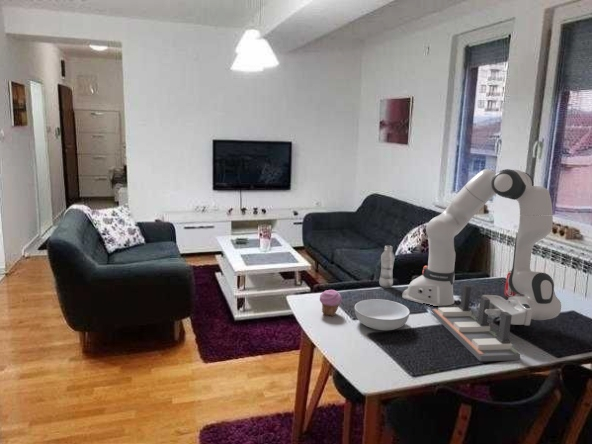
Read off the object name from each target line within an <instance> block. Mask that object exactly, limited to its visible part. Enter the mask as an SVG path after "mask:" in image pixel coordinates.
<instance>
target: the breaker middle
mask: <svg viewBox="0 0 592 444" xmlns="http://www.w3.org/2000/svg"><path fill="white" fill-rule="evenodd" d="M479 304H480V307H479V308H478V317H477V319H476V322H477V323H478V324H480V325H481V326H485V325H489V326H490V322H488V319H489V314H486V313H485V312H484V309H485V308H489V304H490V300H489V299H488V298H487V297H482V296H480V300H479Z"/></svg>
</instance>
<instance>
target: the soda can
mask: <svg viewBox="0 0 592 444" xmlns="http://www.w3.org/2000/svg"><path fill="white" fill-rule="evenodd" d="M511 271H512V269H511V270H509V271H508V272H507V274H506V278H505V279H506V280H505V285H504V286H505V287H504V295H505V296H506V298H509V297H512V296H522V295H518V294H515V293H514V292H513V291H512V290H511V289H510V286H509V276H510V273H511Z"/></svg>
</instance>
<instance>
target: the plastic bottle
mask: <svg viewBox="0 0 592 444" xmlns="http://www.w3.org/2000/svg"><path fill="white" fill-rule="evenodd" d="M393 248H394V247H393V245H388V244H387V245H386V244H385V245H384V251H383V252H382V254H381V255H380V263H381V265H380V267H381V268H380V269H381V270H380V276H379V281H378V284H379V285H380V287H382V288H391V287H392V286H393V284H394V278H393V269H394V263H395V258H396V257H395V254H394V252H393V250H394V249H393Z"/></svg>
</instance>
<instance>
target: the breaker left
mask: <svg viewBox="0 0 592 444" xmlns="http://www.w3.org/2000/svg"><path fill="white" fill-rule="evenodd" d="M471 292H472V286H471V285H470V284H467V283H466V284H465V283H464V284H462V289H461V297H460V304H458V305H457V307H459V308H460V309H462V310H463V311H472V309H471V307H470V300H471Z"/></svg>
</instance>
